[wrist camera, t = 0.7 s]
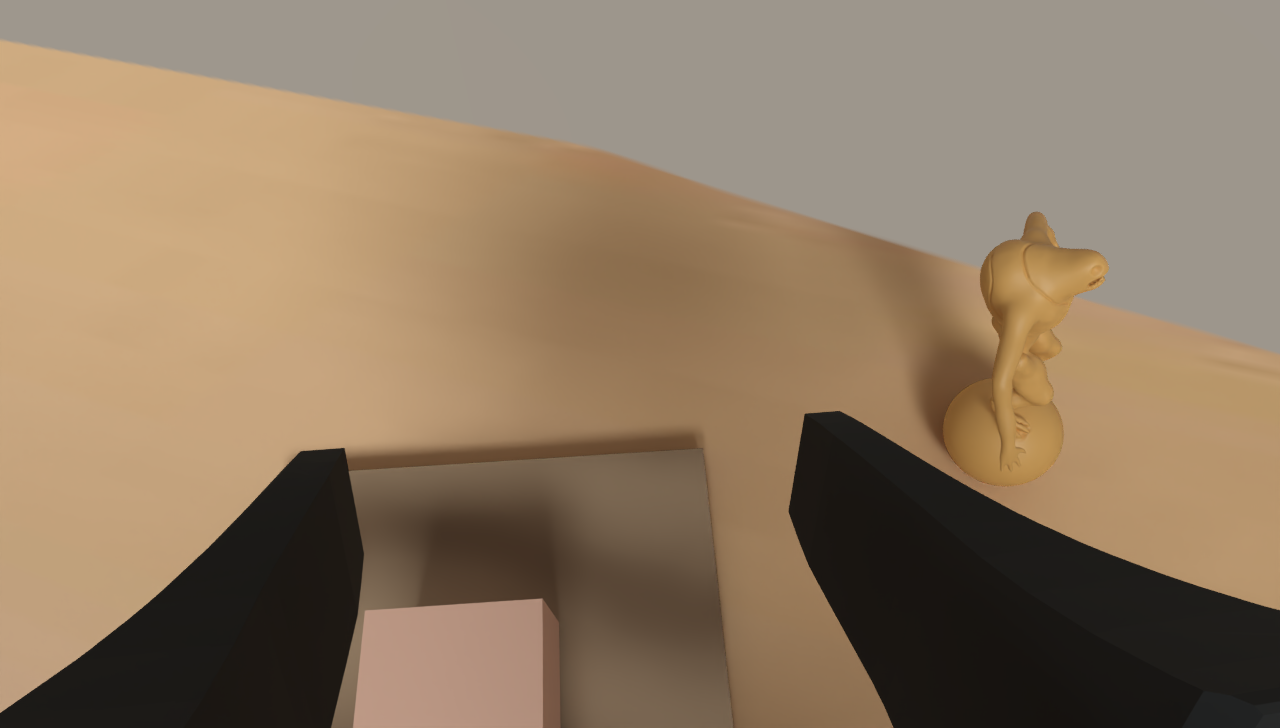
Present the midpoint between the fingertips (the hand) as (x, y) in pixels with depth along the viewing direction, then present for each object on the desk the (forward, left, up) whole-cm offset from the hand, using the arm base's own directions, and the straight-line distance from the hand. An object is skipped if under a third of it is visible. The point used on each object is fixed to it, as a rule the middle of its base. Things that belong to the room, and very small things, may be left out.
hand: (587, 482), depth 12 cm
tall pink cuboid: (-3, +4, -15) cm, 16 cm away
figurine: (+6, -14, -16) cm, 22 cm away
